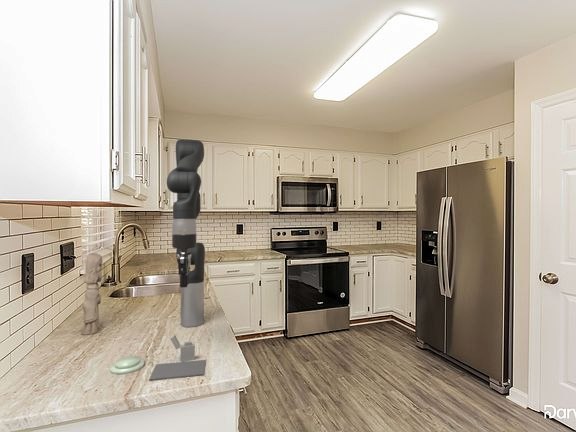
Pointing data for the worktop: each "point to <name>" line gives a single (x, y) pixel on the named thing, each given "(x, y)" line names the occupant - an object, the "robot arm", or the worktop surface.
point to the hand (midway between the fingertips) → (184, 285)
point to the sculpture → (92, 294)
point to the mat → (178, 370)
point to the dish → (127, 365)
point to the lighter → (184, 349)
